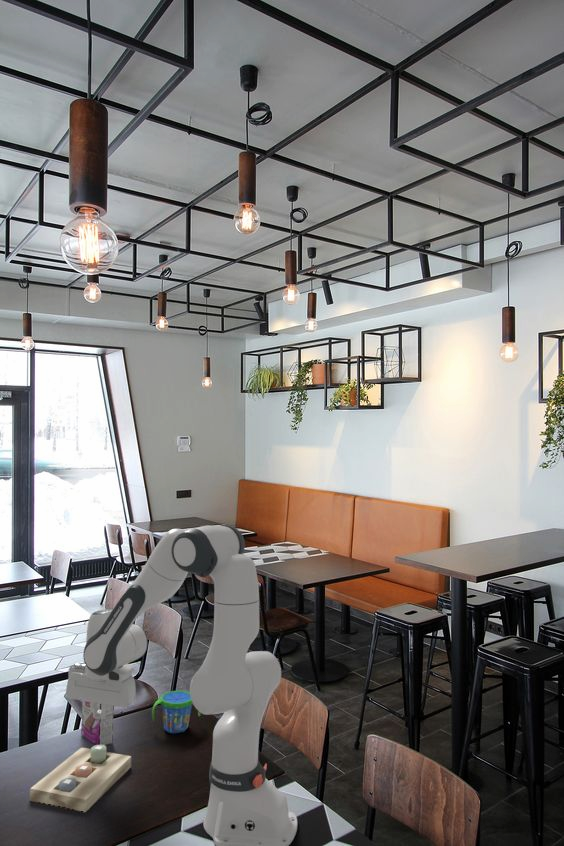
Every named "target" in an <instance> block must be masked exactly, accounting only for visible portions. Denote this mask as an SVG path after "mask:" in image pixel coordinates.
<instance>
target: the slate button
mask: <svg viewBox="0 0 564 846" xmlns="http://www.w3.org/2000/svg"><path fill="white" fill-rule="evenodd" d="M75 788H76V779H74V778H65V779H63V780H61V781H60V782H59V790H60V791H65V792H71V791H72V790H73V789H75Z"/></svg>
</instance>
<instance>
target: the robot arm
mask: <svg viewBox="0 0 564 846" xmlns="http://www.w3.org/2000/svg"><path fill="white" fill-rule="evenodd" d="M245 545H246V543H245V538H244V535H243V534H242V532H241V531H240V530H239V529H238V528H236V527H234V526H232V525H227V524H221V525H210V524H209V525H201V526H199V527H193V528H188V529H182V528H172V529H170V530H168V531H167V532H166V533H165V534H164V535H163V536H162V537H161V539H160V540H159V542H158V543H157V544H156V546H155V547H154V549H153V550H152V551H151V554H150V555H149V557H148V559H147V561H146V563H145V564H144V566H143V568H142V569H141V571H140V572H139V574H138V575H137V577H136V578H135V579H134V581H133V582H132V583H131V584H130V586H128V588H127V589H126V591H125V592H124V593H123V594H122V595H121V597H120V599H118V602H116V605H115V606H114V608H103V609H99V610H97V611H94V612H92V613H91V614H90V616H89V619H88V622H87V627H86V642H85V643H86V644H85V646H84V649H83V662H84V664H79V663H73V664H72V665H70V666H69V668H68V679H67V684H66V689H65V695H66V697H67V698H68V699H70V700H77V701H88V702H90V707H91V709H92V711H93V718H98V719H104V718H105V716H106V710H107V709H108V707H109V706H110V705H112V706H114V707H120V708H125V709H127V708H130V707H131V706H132V705H133V704H134V703H135V701H136V695H137V694H136V681H135V678H134V677H133V676H132V675H133V674H134V672H135V667H134V666H133V665H130V663H132V662H135V661H136V660H138V659H140V658H142V657H143V656H144V655H145V654H146V651H147V649H148V636H147V633H146V631H145V630H144V628H143V627H141V626H140V625H138V624H134V623H135V622H136V621H137V619H138V618H139V617H140V616H142V615H143V614H144V613H146V612H147V611H149V610H151V609H152V608H154V607H156V606H158V605H159V604H161V603H163V602H165V601H168V600H170V599H171V598H172V597H173V596H174V595H175V594H176V593H177V592H178V590H179V589H180V588H181V586H182V585H183V583H184V581H185V580H186V578H187V576H188V574H189V573H190V574H193V575H196V576H198V577H200V578H202V579H203V578H206V577H208V576H210V578H211V579H212V581H213V585H214V588H213V589H214V595H213V596H214V599H213V600H214V602H213V605H214V606H213V607H214V609H213V610H214V611H213V618H214V619H213V631H212V632H213V633H212V637H211V638H212V639H211V642H210V646H209V649H208V651H207V654H206V656H205V658H204V660H203V662H202V664H201V666H200V667H199V669H198V670H197V671H196V672H195V674H194V675H193V676H192V678H191V681H190V684H189V693H190V697H191V700H192V703H193V704H192V706H194V708H195V709H196V710H197V712H198V711H199V712H200V713H201V715H204V716H205V715H207V716H208V715H216V714H222V713H223V714H222V716H221V717H220V719H218V720H217V722H216V724H215V726H214V727H213V728H214V729H213V731H212V756H211V761H210V766H209V777H208V778H209V786H210V791H209V799H208V804H207V808H206V813H205V814H204V815H205V816H204V819H203V829H204V831H205V832H206V833H207V835H209V836H210V837H211V838H212V839H213V840H212V841H213V843H214V845H215V846H289V845H291V843H292V842H293V841H294V840H295V839H294V838H295V836H296V834H297V831H298V817H297V816H296V814H295V812H292V811H290V810H289V807H288V802H287V798H286V796H285V793H283V792H282V791H281V790H279V789H278V788H277V787H276V786H275V785H274V784H273V783H271V781H269V780H268V778H266V771H267V769H268V768H267V766H268V764H267V763H264V766H263V765H262V763H260V761H259V744H260V741H259V740H260V731H261V725H262V720H263V718H264V714H265V711H266V708H267V706H268V704H269V701H270V699H271V697H272V695H273V693H274V692H275V690H276V689H277V688H278V687H279V685H280V683H281V680H282V668H281V664H280V662H279V660H278V659H277V658H276V655H274V654H273V653H272V652H270V651H267V650H264V651H263V650H258V651H249V652H248V650H249V648H250V647H251V644H252V643H253V642H254V641H255V639H256V638H257V636H258V634H259V632H260V592H259V591H260V588H259V579H258V572H257V568H256V564H255V562H254V559H252V558H251V557H250V556H248V555H246V554H244V551H245V548H246V547H245ZM97 703H100V704H102V706H101V707H103V709H102V710H99V708H98V706H97Z"/></svg>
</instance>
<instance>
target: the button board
mask: <svg viewBox="0 0 564 846" xmlns="http://www.w3.org/2000/svg"><path fill="white" fill-rule="evenodd" d="M90 755H91V748H87V747H79V749H78V750H77V751H75V752H74V753H72V754H71V755H70V756H69V757H68V758H66V759H65V760H64V761H63V762H61V763H60V764H59V765H58V766H56V767H55V768H53V770H52V771H50V772H49V773H48V774H46V775H45V776H44V777H43V778H42V779H40V780H38V782H36V783H35V784H34V785H32V787H30V789H29V802H34V803H39V802H40V803H39V804H43V803H45V804H44V805H48V804H51V805H50V806H53V805H55V806H54V807H58V806H60V807H59V808H62V807H66V808H65V809H67V808H70V809H69V810H72V809H74V810H73V811H76V812H77V811H78V812H81V811H83V812H82V813H86V812H87V811H88V810H90V808H91V807H93V805H94V804H96V803H97V802H98V800H99V799H101V798H102V796H104V795H105V793H106V792H108V791H109V789H110V788H112V787H113V786H114V784H115V783H117V782H118V780H120V779H121V778H122V777H123V776H124V775H125V774H126V773H127V772H128V771H129V770H130V769H131V768H132V756H131V755H126V754H120V753H115V752H110V751H106V761H105V762H104V763H102V764H101V765H100V764H95V763H90ZM83 764H88V765H91V766H92V773H91V774H90V775H89V776H88V777H87V778H84V777H79V776H75V769H76V767H78V766H80V765H83ZM65 778H74V779H76V788H75V789H73V790H72V791H71V792H65V791H60V790H59V782H60V781H61V780H63V779H65Z"/></svg>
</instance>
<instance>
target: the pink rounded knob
mask: <svg viewBox="0 0 564 846" xmlns="http://www.w3.org/2000/svg"><path fill="white" fill-rule="evenodd" d="M91 773H92V766H91V765H88V764H83V765H80V766H78V767H76V769H75V776H79V777H84V778H87V777H88V776H89V775H90V774H91Z"/></svg>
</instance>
